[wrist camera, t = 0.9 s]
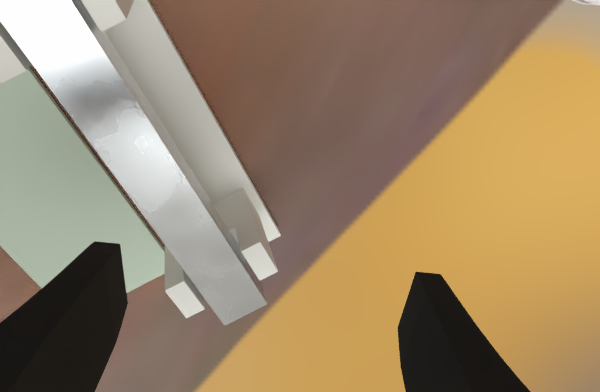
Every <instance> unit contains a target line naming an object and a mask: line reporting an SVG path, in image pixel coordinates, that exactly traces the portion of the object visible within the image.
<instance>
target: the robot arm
mask: <svg viewBox="0 0 600 392" xmlns="http://www.w3.org/2000/svg"><path fill="white" fill-rule="evenodd" d="M127 304H128V302H127V294H126V286H125V279H124V271H123V263H122V255H121V247H120V244H117V243H106V242H96V241H94V242H93V243H92V244H91V245H89V246H88V247H87V248H86V249H85V250H84V251H83V252H82V253H81V254H79V255H78V256H77V257H76V258H75V259H74V260H73V261H72V262H71V263H70V264H69V265H68V266H66V267H65V268H64V269H63V270H62V271H61V272H60V273H59V274H58V275H57V276H55V277H54V278H53V279H52V280H51V281H50V282H49V283H48V284H46V285H45V286H44V287H43V288H42V289H41V290H39V291H38V292H37V293H36V294H35V295H34V296H33V297H31V298H30V299H29V300H28V301H27V302H26V303H24V304H23V305H22V306H21V307H20V308H18V309H17V310H16V311H15V312H13V313H12V314H11V315H10V316H8V317H7V318H6V319H4V320H3V321H2V322H1V323H0V392H95V390H96V387H97V385H98V383H99V381H100V378H101V376H102V374H103V371H104V369H105V367H106V365H107V362H108V360H109V358H110V355H111V353H112V351H113V348H114V346H115V344H116V341H117V338H118V334H119V331H120V328H121V325H122V321H123V318H124V314H125V311H126V307H127ZM398 337H399V351H400V362H401V369H402V375H403V380H404V385H405V390H406V392H530V391H529V390H528V388H527V387H526V386H525V385H524V384H523V383H522V382H521V381H520V379H519V378H518V377H517V376H516V375H515V374H514V372H513V371H512V370H511V369H510V368H509V366H508V365H507V364H506V363H505V362H504V360H503V359H502V358H501V357H500V356H499V354H498V353H497V352H496V350H495V349H494V348H493V346H492V345H491V344H490V343H489V341H488V340H487V338H486V337H485V336H484V335H483V333H482V332H481V331H480V329H479V328H478V327H477V325H476V324H475V323H474V322H473V320H472V318H471V317H470V315H469V314H468V313H467V311H466V310H465V308H464V307H463V306H462V304H461V303H460V301H459V300H458V298H457V297H456V296H455V294H454V293H453V292H452V290H451V288H450V287H449V286H448V284H447V283H446V281H445V280H444V279H443V277H442V276H441V275H440V274H433V273H422V272H416V273H415V276H414V279H413V282H412V285H411V289H410V292H409V295H408V298H407V301H406V304H405V307H404V310H403V313H402V316H401V319H400V323H399V326H398Z"/></svg>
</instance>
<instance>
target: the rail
mask: <svg viewBox="0 0 600 392" xmlns="http://www.w3.org/2000/svg"><path fill="white" fill-rule="evenodd" d="M0 21H1V23H2V24H3V25H4V27H5V28H6V30H7V31H8V32H9V34H10V35H11V36H12V38H13V39H14V40H15V42H16V43H17V44H18V46H19V47H20V49H21V50H22V51H23V53H24V54H25V55H26V57H27V58H28V59H29V61H30V62H31V63H32V65H33V66H34V68H35V69H36V70H37V72H38V73H39V74H40V76H41V77H42V78H43V80H44V81H45V82H46V84H47V85H48V87H49V88H50V89H51V91H52V92H53V93H54V95H55V96H56V97H57V99H58V100H59V101H60V103H61V104H62V106H63V107H64V108H65V110H66V111H67V112H68V114H69V115H70V116H71V118H72V119H73V120H74V122H75V123H76V125H77V126H78V127H79V129H80V130H81V131H82V133H83V134H84V135H85V137H86V138H87V139H88V141H89V142H90V144H91V145H92V146H93V148H94V149H95V150H96V152H97V153H98V154H99V156H100V157H101V158H102V160H103V161H104V163H105V164H106V165H107V167H108V168H109V169H110V171H111V172H112V173H113V175H114V176H115V177H116V179H117V180H118V182H119V183H120V184H121V186H122V187H123V188H124V190H125V191H126V192H127V194H128V195H129V196H130V198H131V199H132V201H133V202H134V203H135V205H136V206H137V207H138V209H139V210H140V211H141V213H142V214H143V215H144V217H145V218H146V220H147V221H148V222H149V224H150V225H151V226H152V228H153V229H154V230H155V232H156V233H157V234H158V236H159V237H160V239H161V240H162V241H163V243H164V244H165V245H166V247H167V248H168V249H169V251H170V252H171V253H172V255H173V256H174V258H175V259H176V260H177V262H178V263H179V264H180V266H181V267H182V268H183V270H184V271H185V272H186V274H187V275H188V277H189V278H190V279H191V281H192V282H193V283H194V285H195V286H196V287H197V289H198V290H199V291H200V293H201V294H202V296H203V297H204V298H205V300H206V301H207V302H208V304H209V305H210V306H211V308H212V309H213V310H214V312H215V313H216V315H217V316H218V317H219V319H220V320H221V321H222V323H223V324H224V325H227V324H229V323H231V322H233V321H235V320H237V319H239V318H241V317H243V316H245V315H247V314H249V313H251V312H253V311H255V310H256V309H258V308H260V307H262V306H264V305H266V304H267V301H266V297H265V294H264V290H263V286H262V283H261V280H259V279H258V277H257V276H256V274H255V273H254V271H253V269H252V268H251V266H250V265H249V263H248V262H247V260H246V258H245V257H244V255H243V254H242V252H241V249H240V245H239V244H238V242H237V241H236V239H235V237H234V236H233V234H232V233H231V231H230V230H229V228H228V226H227V225H226V223H225V222H224V220H223V219H222V217H221V215H220V214H219V212H218V211H217V209H216V207H215V206H214V204H213V203H212V201H211V200H210V198H209V196H208V195H207V193H206V192H205V190H204V189H203V187H202V185H201V184H200V182H199V181H198V179H197V177H196V176H195V174H194V173H193V171H192V170H191V168H190V166H189V165H188V163H187V162H186V160H185V159H184V157H183V155H182V154H181V152H180V151H179V149H178V147H177V146H176V144H175V143H174V141H173V140H172V138H171V136H170V135H169V133H168V132H167V130H166V129H165V127H164V125H163V124H162V122H161V121H160V119H159V117H158V116H157V114H156V113H155V111H154V110H153V108H152V106H151V105H150V103H149V102H148V100H147V99H146V97H145V95H144V94H143V92H142V91H141V89H140V87H139V86H138V84H137V83H136V81H135V80H134V78H133V76H132V75H131V73H130V72H129V70H128V69H127V67H126V65H125V64H124V62H123V61H122V59H121V57H120V56H119V54H118V53H117V51H116V50H115V48H114V46H113V45H112V43H111V42H110V40H109V39H108V37H107V35H106V34H105V32H104V31H103V32H101V31H100V29H99V28H98V26H97V24H96V23H95V21H94V20H93V18H92V17H91V15H90V13H89V12H88V10H87V9H86V7H85V6H84V4H83V2H82V1H81V0H0Z"/></svg>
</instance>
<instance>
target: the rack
mask: <svg viewBox="0 0 600 392" xmlns="http://www.w3.org/2000/svg"><path fill="white" fill-rule="evenodd" d="M81 1H82V2H83V4H84V6H85V7H86V9H87V10H88V12H89V13H90V15H91V17H92V18H93V20H94V21H95V23H96V24H97V26H98V28H99V29H100V31H101V32H103V31H104V32H105V34H106V35H107V37H108V39H109V40H110V42H111V43H112V45H113V46H114V48H115V50H116V51H117V53H118V54H119V56H120V57H121V59H122V61H123V62H124V64H125V65H126V67H127V69H128V70H129V72H130V73H131V75H132V76H133V78H134V80H135V81H136V83H137V84H138V86H139V87H140V89H141V91H142V92H143V94H144V95H145V97H146V99H147V100H148V102H149V103H150V105H151V106H152V108H153V110H154V111H155V113H156V114H157V116H158V117H159V119H160V121H161V122H162V124H163V125H164V127H165V129H166V130H167V132H168V133H169V135H170V136H171V138H172V140H173V141H174V143H175V144H176V146H177V147H178V149H179V151H180V152H181V154H182V155H183V157H184V159H185V160H186V162H187V163H188V165H189V166H190V168H191V170H192V171H193V173H194V174H195V176H196V177H197V179H198V181H199V182H200V184H201V185H202V187H203V189H204V190H205V192H206V193H207V195H208V196H209V198H210V200H211V201H212V203H213V204H214V206H215V207H216V209H217V211H218V212H219V214H220V215H221V217H222V219H223V220H224V222H225V223H226V225H227V226H228V228H229V230H230V231H231V233H232V234H233V236H234V237H235V239H236V241H237V242H238V244H239V245H240V249H241V252H242V254H243V255H244V257H245V258H246V260H247V262H248V263H249V265H250V266H251V268H252V269H253V271H254V273H255V274H256V276H257V277H258V279H259V280H262V279H264V278H266V277H268V276H270V275H272V274H274V273H276V272H278V270H277V267H276V264H275V261H274V258H273V255H272V252H271V249H270V246H269V243H268V242H269V241H271V240H273V239H275V238H277V237H279V236H281V235H280V232H279V230H278V227H277V225H276V224H275V222H274V220H273V218H272V217H271V215H270V213H269V211H268V210H267V208H266V206H265V204H264V202H263V201H262V199H261V197H260V195H259V194H258V192H257V190H256V188H255V187H254V185H253V183H252V181H251V179H250V178H249V176H248V174H247V172H246V171H245V169H244V167H243V165H242V164H241V162H240V160H239V158H238V156H237V155H236V153H235V151H234V149H233V148H232V146H231V144H230V142H229V141H228V139H227V137H226V135H225V134H224V132H223V130H222V128H221V126H220V125H219V123H218V121H217V119H216V118H215V116H214V114H213V112H212V111H211V109H210V107H209V105H208V103H207V102H206V100H205V98H204V96H203V95H202V93H201V91H200V89H199V88H198V86H197V84H196V82H195V81H194V79H193V77H192V75H191V73H190V72H189V70H188V68H187V66H186V65H185V63H184V61H183V59H182V58H181V56H180V54H179V52H178V50H177V49H176V47H175V45H174V43H173V42H172V40H171V38H170V36H169V35H168V33H167V31H166V29H165V28H164V26H163V24H162V22H161V20H160V19H159V17H158V15H157V13H156V12H155V10H154V8H153V6H152V5H151V3H150V1H149V0H81ZM31 65H32V63H31V62H30V61H29V59H28V58H27V57H26V55H25V54H24V53H23V51H22V50H21V49H20V47H19V46H18V44H17V43H16V42H15V40H14V39H13V38H12V36H11V35H10V34H9V32H8V31H7V30H6V28H5V27H4V25H3V24H2V23H1V21H0V82H1V83H3V82H5V81H7V80H9V79H11V78H13V77H15V76H17V75H19V74H21V73H23V72H25V71H27V70H28V68H29V67H30V66H31ZM165 292H166V293H167V294H168V295H169V297H170V298H171V299H172V301H173V302H174V303H175V304H176V306H177V307H178V308H179V309H180V311H181V312H182V313H183V315H184V316H185V317H186V318H188V317H190V316H192V315H194V314H196V313H198V312H200V311H202V310H204V309H205V306H204V297H203V296H202V294H201V293H200V291H199V290H198V289H197V287H196V286H195V285H194V283H193V282H192V281H191V279H190V278H189V277H188V275H187V274H186V272H185V271H184V270H183V268H182V267H181V266H180V264H179V263H178V262H177V260H176V259H175V258H174V256H173V255H172V253H171V252H170V251H169V249H168V248H167V247H166V245H165Z"/></svg>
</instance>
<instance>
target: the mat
mask: <svg viewBox="0 0 600 392" xmlns="http://www.w3.org/2000/svg"><path fill="white" fill-rule="evenodd" d="M94 241H96V242H106V243H117V244H120V247H121V255H122V263H123V271H124V279H125V286H126V293H128V292H130V291H131V290H133V289H135V288H137V287H139V286H141V285H143V284H145V283H147V282H149V281H151V280H153V279H155V278H157V277H159V276H161V275H163V274H165V249H164V247H163V246H162V244H161V243H160V242H159V240H158V239H157V238H156V236H155V235H154V234H153V232H152V231H151V230H150V228H149V227H148V226H147V224H146V223H145V222H144V220H143V219H142V218H141V216H140V215H139V213H138V212H137V211H136V209H135V208H134V207H133V205H132V204H131V203H130V201H129V200H128V199H127V197H126V196H125V195H124V193H123V192H122V191H121V189H120V188H119V186H118V185H117V184H116V182H115V181H114V180H113V178H112V177H111V176H110V174H109V173H108V172H107V170H106V169H105V168H104V166H103V165H102V164H101V162H100V161H99V160H98V158H97V157H96V155H95V154H94V153H93V151H92V150H91V149H90V147H89V146H88V145H87V143H86V142H85V141H84V139H83V138H82V137H81V135H80V134H79V133H78V131H77V130H76V129H75V127H74V126H73V124H72V123H71V122H70V120H69V119H68V118H67V116H66V115H65V114H64V112H63V111H62V110H61V108H60V107H59V106H58V104H57V103H56V102H55V100H54V99H53V97H52V96H51V95H50V93H49V92H48V91H47V89H46V88H45V87H44V85H43V84H42V83H41V81H40V80H39V79H38V77H37V76H36V75H35V73H34V72H33V71H32V69H31V68H30V67H29V68H28V70H27V71H25V72H23V73H21V74H19V75H17V76H15V77H13V78H11V79H9V80H7V81H5V82H3V83H1V82H0V246H1V247H2V248H3V249H4V250H5V251H6V252H7V253H8V254H9V255H10V256H11V257H12V258H13V259H14V260H15V262H16V263H17V264H18V265H19V266H20V267H21V268H22V269H23V270H24V271H25V272H26V273H27V274H28V275H29V276H30V277H31V278H32V279H33V280H34V281H35V282H36V283H37V284H38V285H39V286H40V287H41V288H43V287H44V286H45V285H46V284H48V283H49V282H50V281H51V280H52V279H53V278H54V277H55V276H57V275H58V274H59V273H60V272H61V271H62V270H63V269H64V268H65V267H66V266H68V265H69V264H70V263H71V262H72V261H73V260H74V259H75V258H76V257H77V256H78V255H79V254H81V253H82V252H83V251H84V250H85V249H86V248H87V247H88V246H89V245H91V244H92V243H93V242H94Z"/></svg>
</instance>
